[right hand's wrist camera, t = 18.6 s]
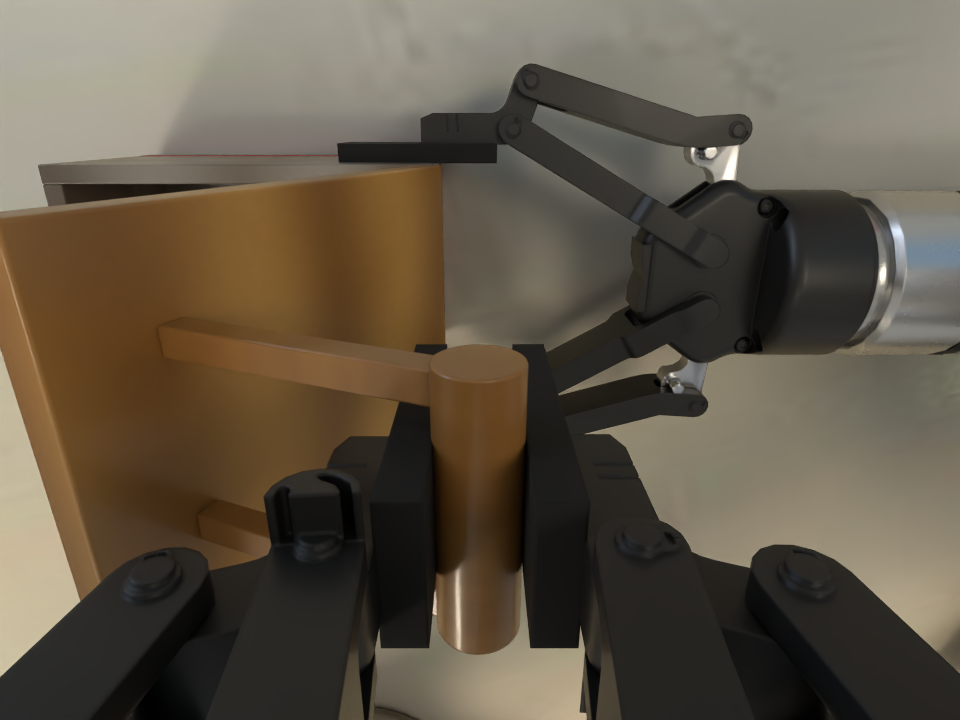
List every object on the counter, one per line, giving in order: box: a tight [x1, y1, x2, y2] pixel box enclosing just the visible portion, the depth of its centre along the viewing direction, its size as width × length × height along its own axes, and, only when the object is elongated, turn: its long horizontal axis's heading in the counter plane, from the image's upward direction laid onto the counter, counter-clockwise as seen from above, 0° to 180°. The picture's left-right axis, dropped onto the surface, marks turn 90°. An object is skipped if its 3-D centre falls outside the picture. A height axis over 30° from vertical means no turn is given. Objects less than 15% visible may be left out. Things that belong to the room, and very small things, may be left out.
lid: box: [0, 165, 528, 655], centre depth 16 cm, size 16×10×8 cm
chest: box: [38, 155, 440, 206], centre depth 29 cm, size 15×10×9 cm, turn 90°
